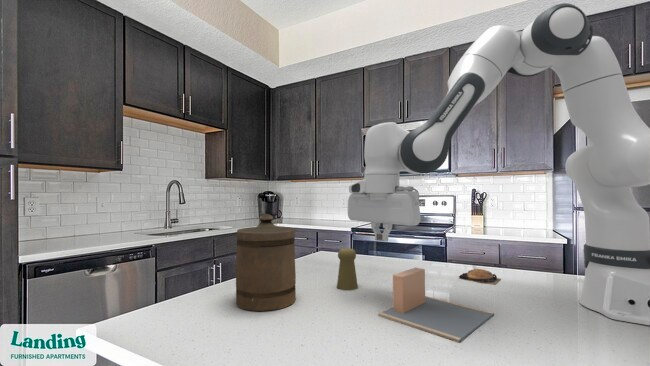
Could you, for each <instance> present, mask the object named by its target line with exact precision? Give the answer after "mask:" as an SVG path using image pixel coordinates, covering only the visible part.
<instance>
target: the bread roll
mask: <svg viewBox="0 0 650 366" xmlns="http://www.w3.org/2000/svg"><path fill="white" fill-rule="evenodd" d="M458 279H459V280H464V281H469V282H474V283H479V284H486V285H494V286H495V285H497V284H498V283H499V282H501V280H502V278H499V277H497V275H496V273H494V274H493V273H492V272H491V271H489V270H486V269H482V268H473V269H471V270H468V272H465V273H464V272H463V273H462V274H460V275H459V276H458Z"/></svg>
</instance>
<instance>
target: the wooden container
mask: <svg viewBox="0 0 650 366" xmlns="http://www.w3.org/2000/svg"><path fill="white" fill-rule="evenodd" d="M273 220H274V216H273V215H271V214H270V213H262V214H261V215H259V221H260V222H259V223H258V225H256V226H253V227H251V226H250V227H243V228H239V229H237V231H236V260H235V261H236V263H235V296H236V297H235V304H236V305H237V307H239V308H240V309H243V310H246V311H252V312H269V311H276V310H280V309H284V308H286V307H289V306H290V305H292V304H294V303H295V302H296V296H297V295H296V291H297V290H296V288H297V287H296V281H297V279H296V277H297V276H296V274H297V273H296V257H295V256H296V254H295V253H296V251H295V248H296V247H295V239H296V238H295V237H296V233H295V232H296V231H295V228H293V227H289V226H276V225H275V224H274V223H273Z"/></svg>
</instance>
